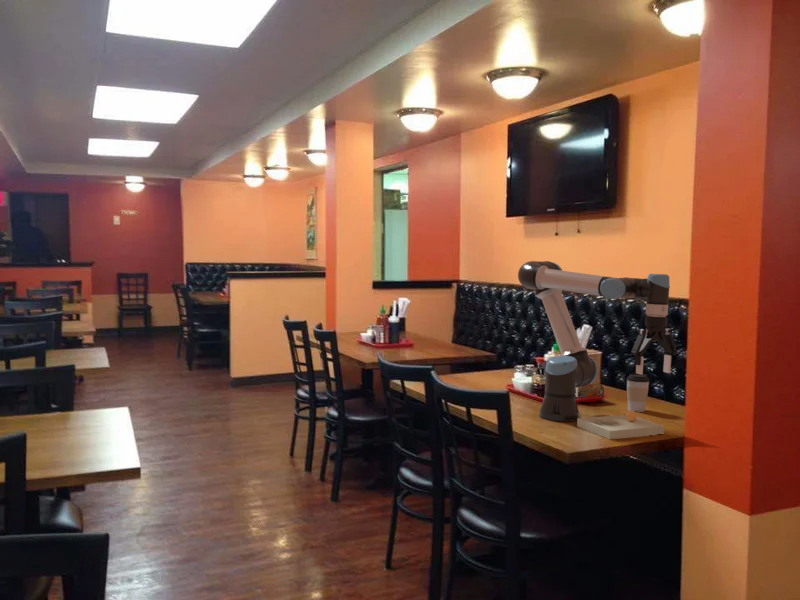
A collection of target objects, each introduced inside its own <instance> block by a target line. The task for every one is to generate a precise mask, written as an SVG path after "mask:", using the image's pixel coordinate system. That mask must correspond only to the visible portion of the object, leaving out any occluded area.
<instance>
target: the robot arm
mask: <svg viewBox="0 0 800 600" xmlns="http://www.w3.org/2000/svg"><path fill="white" fill-rule="evenodd" d="M519 267H520V268H519V269H518V272H517V279H518V281H519V283H520V284H521V286H522V287H524V288H525V289H527V290H528V289H529V290H534V293H535V295H536V297H537V298H538V299H540V300H541V302H542V304H543V306H544V309H545V314H546V315H547V318H548V322H549V324H550V326H551V330H552V332H553V335H554V339H555V341H556V343H557V346H558V349H559V352H560V355H555V356H551V357H549V358H548V359H547V360H546V365H545V377H544V378H545V379H544V381H545V383H544V384H545V385H544V397H543V399H542V400H543V401H542V402H541V406H540V408H539V413H538V415H539V416H540V417H541V418H542V419H545V420H548V421H554V422H575V421H576V422H577V418H580V412H579V408H578V407H579V406H578V404H577V399H576V395H575V393H576V388H577V387H581V386H586V385H589V384H591V383H595V381H596V379H597V378H598V375H599V366H598V363H597V361H596V360H595V359H594V358H592V357H591V356H590V355H589V352H588V351H587V348H584V347H582V344H581V343H580V339H579V337H578V334H577V331H576V329H575V325H574V323H573V320H572V318H571V315H570V312H569V310H568V306H567V304H566V301H565V298H564V296H563V293H562V292H563V291H565V292H570V293H572V292H573V293H579V294H585V295H590V296H598V297H603V298H606V299H610V300H617V299H645V300H646V306H645V308H646V309H645V315H646V316H645V321H644V325H645V326H646V328H645V329H643V328H639V329H638V335H637V337H636V340H635V342H634V344H633V346H632V349H631V351H630V354H631V355H633V356H635V358H634V359H635V361H634V362H635V363H634V364H635V374H641V375H644V356H643V355H644V353H645V351H646V350H647V349H648V347H650V345H651V343H653V342H659V344H660V345H661V348H662V349H663V351H664V353H665V354H664V355H663V368H662V369H663V370H662V371H663V373H667V374H671V367H672V366H671V365H672V364H673V357H674V356H676V354H677V353H678V350H677V346H676V343H675V341H674V337H673V329H672V328H666V327H667V326H668V317H667V316H668V315H669V312H668V310H669V300H670V298H669V297H670V288H671V287H670V276H669V275H668V274H665V273H649V274H648V276H647V278H641V277H639V278H637V277H612V276H603V275H599V274H598V275H597V274H589V273H583V272H575V271H567V270H563V269H562V268H561V266H560V265H559V264H557V263H555V262H553V261H548V260H545V261H538V260H537V261H535V260H531V261H527V262H525V263H523V264H522V265H521V266H519Z"/></svg>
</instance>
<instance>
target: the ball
mask: <svg viewBox="0 0 800 600" xmlns="http://www.w3.org/2000/svg"><path fill="white" fill-rule="evenodd" d="M625 415H626V419H627V420H628V421H631V422H632V421H635V420H636V419H637V417H638V414H637V412H635V411H632V410H627V412H626V413H625Z"/></svg>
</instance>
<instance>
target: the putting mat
mask: <svg viewBox="0 0 800 600" xmlns="http://www.w3.org/2000/svg"><path fill="white" fill-rule="evenodd" d="M576 423H577V424H576V427H578V428H580V429H583V430H585V431H588V432H590V433H592V434H595V435H597V434H598V436H600V437H602V436H603V437H602V438H605V439H607V438H608V440H616V439H617V440H619V439H628V438H640V437H641V438H642V437H650V436H649V435H652V436H658V435H657V434H663V435H664V433H665V426H664V425H662V424H658V423H656V422H652V421H650V420H647V419H644V418H641V417H638V416H637V419H636V420H635V421H632V422H631V421H628V420H627V419H626V414H619V415H618V414H616V415H603V416H592V417H591V416H590V417H579V418H577V420H576Z"/></svg>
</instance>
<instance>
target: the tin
mask: <svg viewBox="0 0 800 600" xmlns="http://www.w3.org/2000/svg"><path fill="white" fill-rule="evenodd" d="M580 388H581V390H580V389H579V391H580V392H578V397H588V396H601V397H602V399H603V398H604V395H605V388H604V385H603V384H602V383H599V382H592V383H591V384H589V385H586V386H581V387H580Z"/></svg>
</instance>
